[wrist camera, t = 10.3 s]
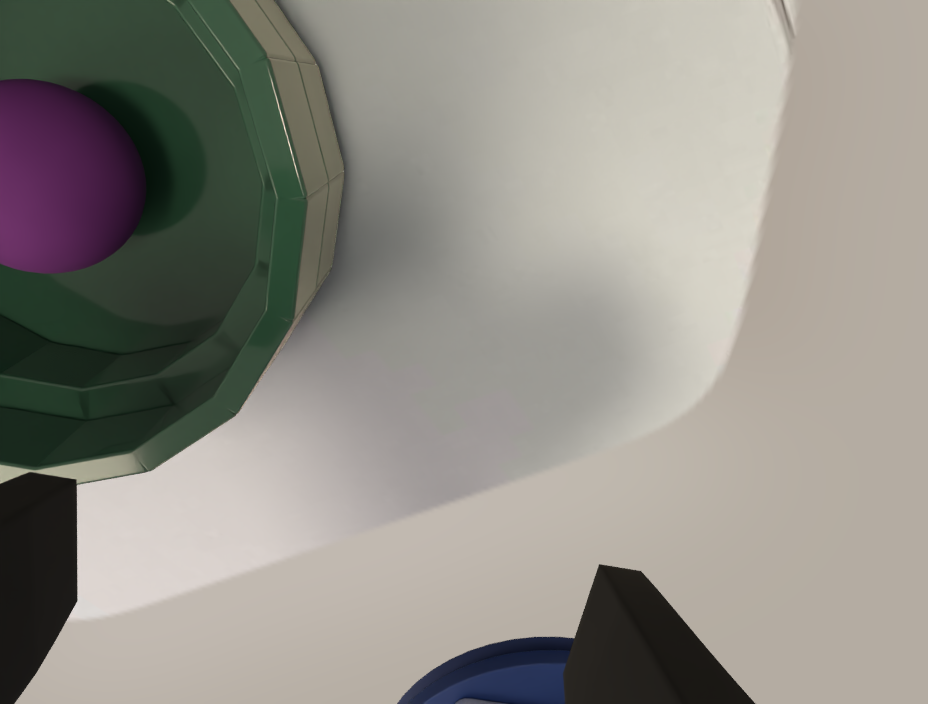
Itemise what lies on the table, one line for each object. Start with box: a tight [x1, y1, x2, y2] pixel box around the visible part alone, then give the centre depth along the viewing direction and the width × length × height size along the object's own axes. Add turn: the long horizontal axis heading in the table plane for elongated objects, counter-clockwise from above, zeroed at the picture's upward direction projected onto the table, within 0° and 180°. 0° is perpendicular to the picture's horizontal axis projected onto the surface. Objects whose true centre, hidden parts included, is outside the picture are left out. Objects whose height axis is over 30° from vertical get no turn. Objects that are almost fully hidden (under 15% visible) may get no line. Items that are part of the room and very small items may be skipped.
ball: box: [0, 79, 146, 274], centre depth 15 cm, size 4×4×4 cm
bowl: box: [0, 0, 344, 485], centre depth 15 cm, size 12×12×5 cm
